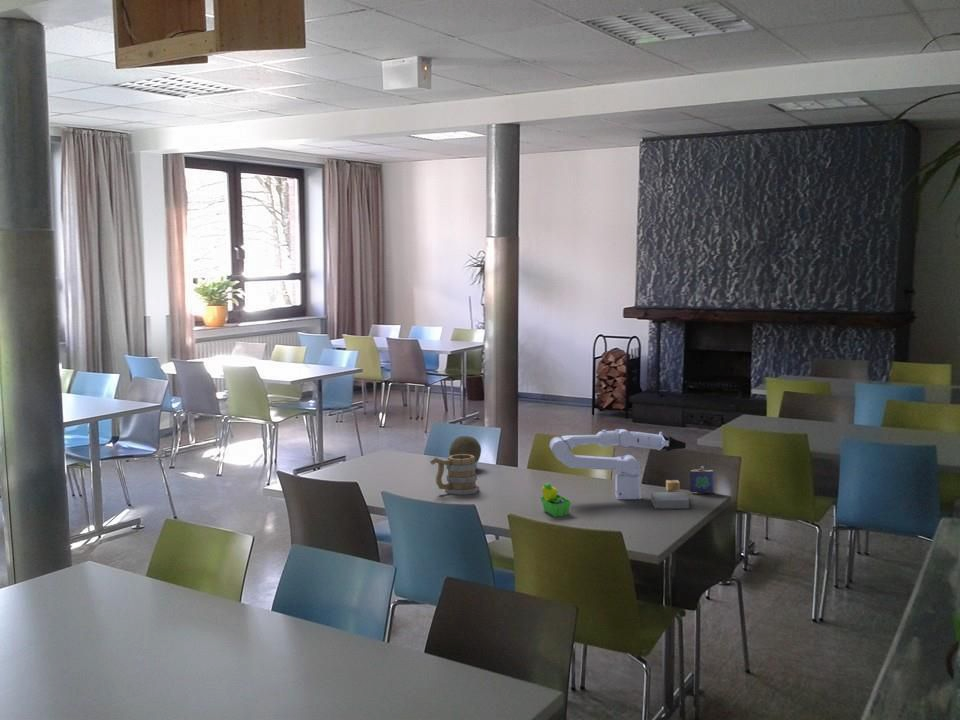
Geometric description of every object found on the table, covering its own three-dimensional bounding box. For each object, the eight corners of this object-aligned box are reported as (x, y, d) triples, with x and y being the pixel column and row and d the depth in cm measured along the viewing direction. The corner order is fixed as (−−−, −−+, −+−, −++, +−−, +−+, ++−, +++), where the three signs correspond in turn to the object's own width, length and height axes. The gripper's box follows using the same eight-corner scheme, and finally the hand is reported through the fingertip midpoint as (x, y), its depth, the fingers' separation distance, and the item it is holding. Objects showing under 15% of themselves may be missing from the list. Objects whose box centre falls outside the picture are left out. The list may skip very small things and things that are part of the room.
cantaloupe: (481, 472, 386) (481, 438, 385) (449, 473, 386) (448, 439, 384) (481, 465, 400) (480, 433, 399) (450, 466, 400) (449, 434, 398)
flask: (713, 492, 342) (713, 465, 341) (714, 494, 339) (714, 466, 338) (689, 492, 343) (689, 465, 342) (690, 494, 340) (690, 467, 339)
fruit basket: (572, 515, 313) (571, 484, 312) (549, 518, 310) (549, 487, 309) (558, 508, 324) (558, 478, 323) (536, 510, 321) (536, 480, 320)
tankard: (469, 485, 362) (469, 449, 361) (483, 492, 351) (482, 455, 349) (424, 491, 354) (423, 455, 352) (436, 498, 342) (435, 460, 341)
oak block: (667, 498, 335) (667, 482, 334) (666, 495, 339) (665, 480, 339) (679, 498, 334) (679, 482, 334) (677, 495, 339) (677, 480, 338)
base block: (655, 508, 320) (655, 500, 320) (651, 500, 332) (650, 492, 332) (689, 508, 320) (689, 500, 319) (683, 499, 332) (683, 492, 331)
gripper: (653, 430, 329) (689, 435, 330) (644, 429, 343) (678, 434, 344) (651, 449, 328) (686, 454, 329) (641, 447, 343) (676, 452, 344)
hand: (682, 445), depth 337 cm, fingers open, 7 cm apart
